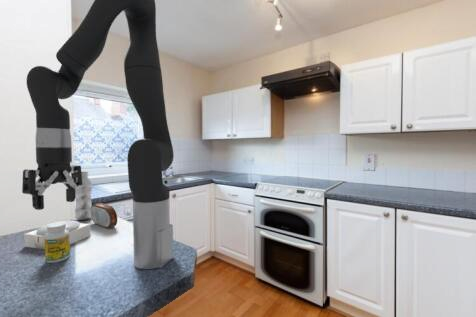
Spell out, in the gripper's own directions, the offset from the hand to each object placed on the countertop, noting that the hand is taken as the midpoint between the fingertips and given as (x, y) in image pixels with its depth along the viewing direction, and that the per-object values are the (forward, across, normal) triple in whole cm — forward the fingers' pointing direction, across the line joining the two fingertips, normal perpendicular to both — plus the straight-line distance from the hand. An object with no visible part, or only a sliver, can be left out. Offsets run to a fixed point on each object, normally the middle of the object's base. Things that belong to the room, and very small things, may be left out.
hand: (55, 205), depth 63 cm
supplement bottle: (+15, 0, 0) cm, 15 cm away
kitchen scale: (+15, +9, +11) cm, 21 cm away
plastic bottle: (+15, +29, +22) cm, 39 cm away
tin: (+15, +25, +8) cm, 30 cm away
